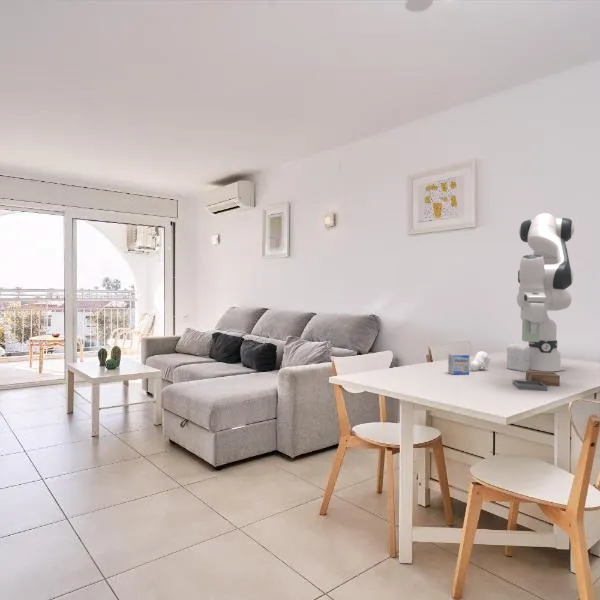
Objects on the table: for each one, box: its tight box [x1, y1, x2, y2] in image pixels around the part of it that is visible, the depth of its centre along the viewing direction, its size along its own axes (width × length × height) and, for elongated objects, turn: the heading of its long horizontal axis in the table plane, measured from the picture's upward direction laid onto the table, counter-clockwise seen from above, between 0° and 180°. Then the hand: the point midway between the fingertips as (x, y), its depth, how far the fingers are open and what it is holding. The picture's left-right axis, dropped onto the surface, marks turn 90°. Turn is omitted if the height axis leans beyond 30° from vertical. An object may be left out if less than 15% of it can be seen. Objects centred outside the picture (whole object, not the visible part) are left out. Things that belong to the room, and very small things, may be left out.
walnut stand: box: [525, 369, 561, 387], centre depth 184 cm, size 10×10×4 cm
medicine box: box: [447, 353, 470, 376], centre depth 202 cm, size 8×4×9 cm, turn 101°
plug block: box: [521, 319, 540, 343], centre depth 174 cm, size 5×5×8 cm
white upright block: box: [506, 343, 530, 373], centre depth 214 cm, size 10×4×12 cm, turn 28°
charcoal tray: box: [512, 379, 549, 392], centre depth 175 cm, size 10×10×2 cm
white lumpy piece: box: [469, 350, 491, 372], centre depth 213 cm, size 6×8×12 cm
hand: (530, 332), depth 174 cm, fingers closed on plug block, 5 cm apart
